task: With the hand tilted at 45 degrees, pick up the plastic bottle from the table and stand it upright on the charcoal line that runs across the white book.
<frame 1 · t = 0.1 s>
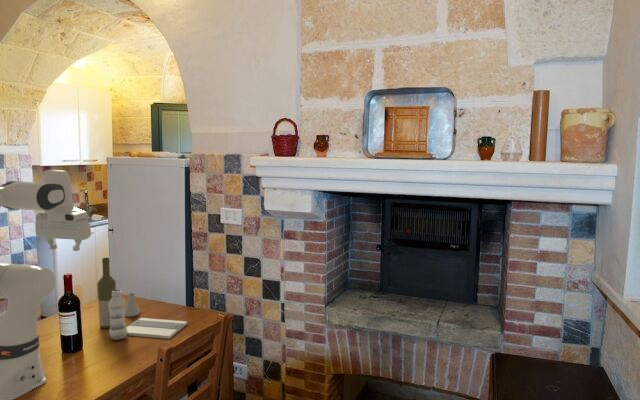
hand: (65, 249, 165), 39 cm above the table, tool pointing down, fingers open, 8 cm apart
flask: (131, 314, 207), on the table
plastic bottle: (118, 339, 180), on the table
white book: (154, 329, 190), on the table
bottle: (107, 326, 193), on the table
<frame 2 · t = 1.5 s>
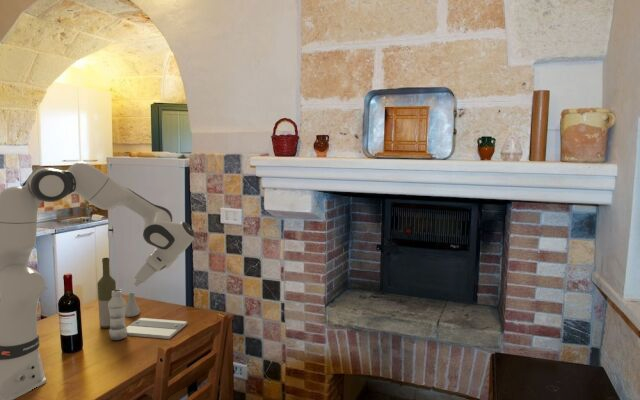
hand: (141, 280, 177), 25 cm above the table, tool tilted 45°, fingers open, 8 cm apart
nothing on the table moved.
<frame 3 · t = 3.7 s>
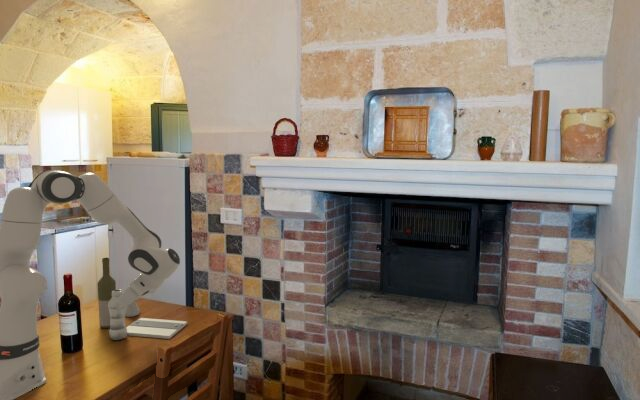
hand: (126, 304, 178), 15 cm above the table, tool tilted 45°, fingers open, 8 cm apart
nothing on the table moved.
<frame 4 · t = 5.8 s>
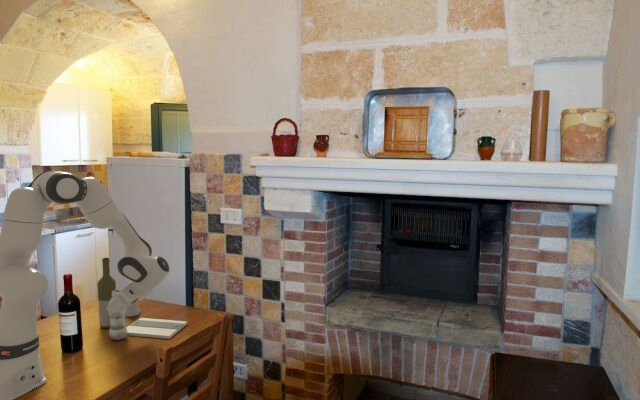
hand: (116, 311, 179), 11 cm above the table, tool tilted 45°, fingers closed on plastic bottle, 6 cm apart
plastic bottle: (118, 339, 180), on the table, touching gripper
everything else where it was.
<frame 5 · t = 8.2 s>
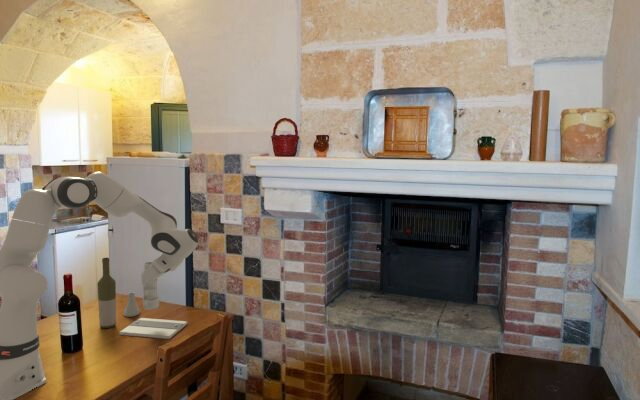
hand: (148, 282, 188), 21 cm above the table, tool tilted 45°, fingers closed on plastic bottle, 6 cm apart
plastic bottle: (151, 309, 190), point 9 cm above the table, touching gripper
everything else where it was.
when the fingers open (14 cm above the table, at t = 10.7 s): plastic bottle stays where it is, resting on white book.
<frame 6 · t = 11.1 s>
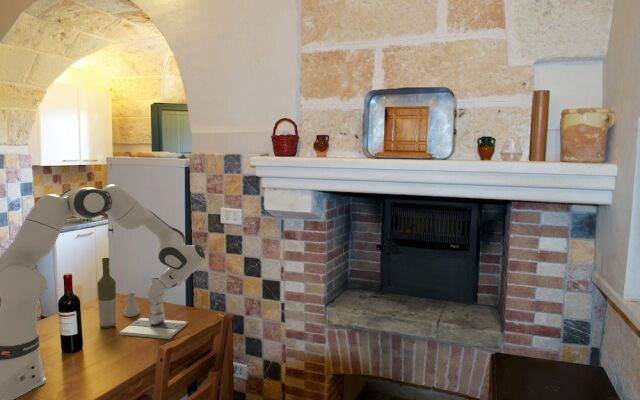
hand: (154, 296, 191), 14 cm above the table, tool tilted 45°, fingers open, 8 cm apart
plastic bottle: (157, 324, 193), point 1 cm above the table, touching white book
everything else where it was.
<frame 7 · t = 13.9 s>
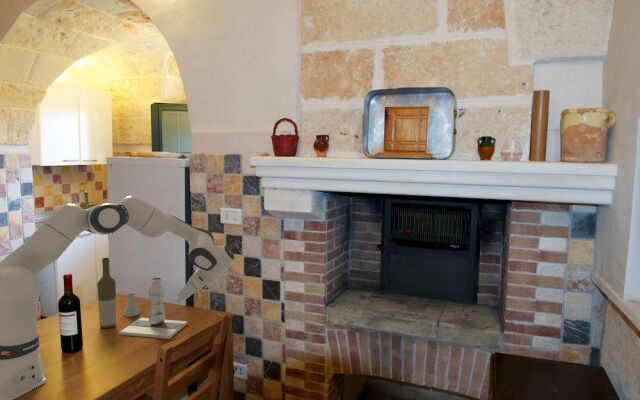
hand: (183, 297, 189), 14 cm above the table, tool tilted 45°, fingers open, 8 cm apart
nothing on the table moved.
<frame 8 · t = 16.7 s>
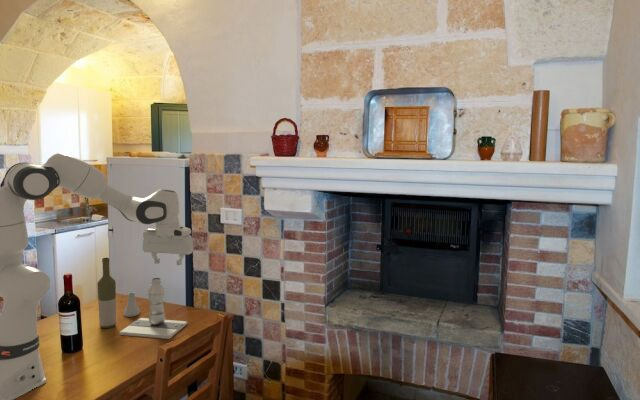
hand: (168, 264, 178), 31 cm above the table, tool pointing down, fingers open, 8 cm apart
nothing on the table moved.
at the end: plastic bottle inside the target area on the white book (0.3 cm from its centre), point 1.2 cm above the white book's base; plastic bottle tilted 0°; the gripper is holding nothing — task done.
